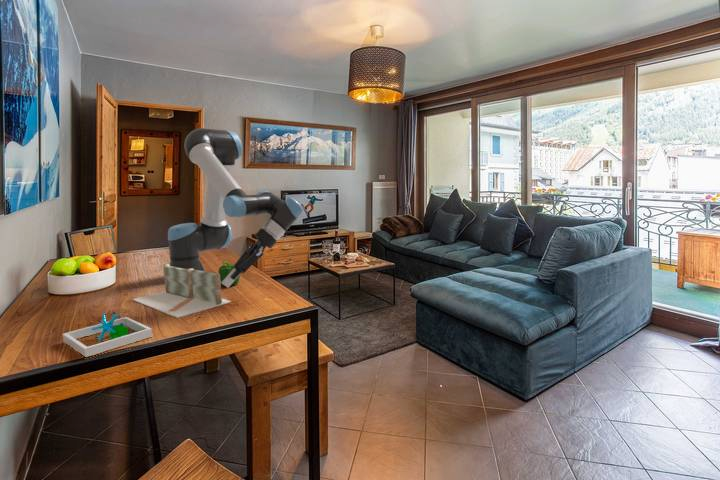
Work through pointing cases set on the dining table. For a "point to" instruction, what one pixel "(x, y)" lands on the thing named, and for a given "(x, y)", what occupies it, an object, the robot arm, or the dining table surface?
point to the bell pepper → (227, 272)
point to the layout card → (176, 303)
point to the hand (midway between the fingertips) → (224, 285)
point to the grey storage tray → (97, 348)
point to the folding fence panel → (206, 286)
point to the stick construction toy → (112, 328)
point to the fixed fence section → (178, 280)
